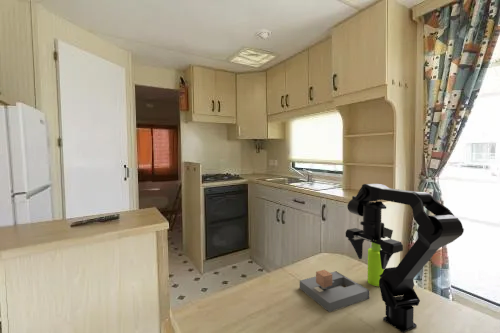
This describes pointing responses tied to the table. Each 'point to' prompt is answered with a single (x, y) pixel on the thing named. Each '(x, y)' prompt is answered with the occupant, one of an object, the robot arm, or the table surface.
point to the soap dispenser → (374, 264)
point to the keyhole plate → (335, 292)
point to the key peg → (324, 279)
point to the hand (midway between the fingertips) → (371, 263)
